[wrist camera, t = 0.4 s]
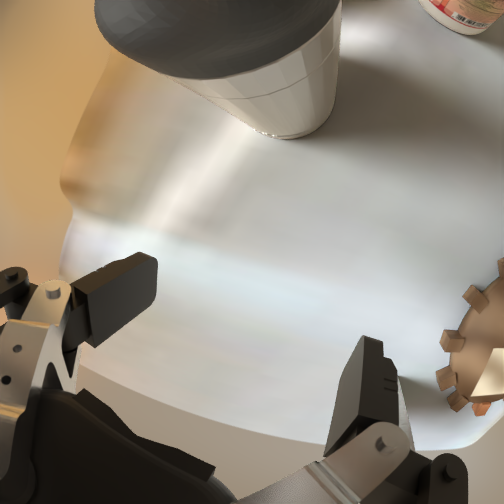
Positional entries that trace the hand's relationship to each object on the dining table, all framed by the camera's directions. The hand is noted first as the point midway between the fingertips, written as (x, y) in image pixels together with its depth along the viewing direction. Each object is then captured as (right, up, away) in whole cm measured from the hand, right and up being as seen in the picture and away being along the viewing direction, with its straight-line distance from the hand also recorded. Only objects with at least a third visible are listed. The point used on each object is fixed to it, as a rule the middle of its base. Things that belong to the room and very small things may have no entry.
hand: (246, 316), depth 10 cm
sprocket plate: (+31, -8, +13) cm, 34 cm away
